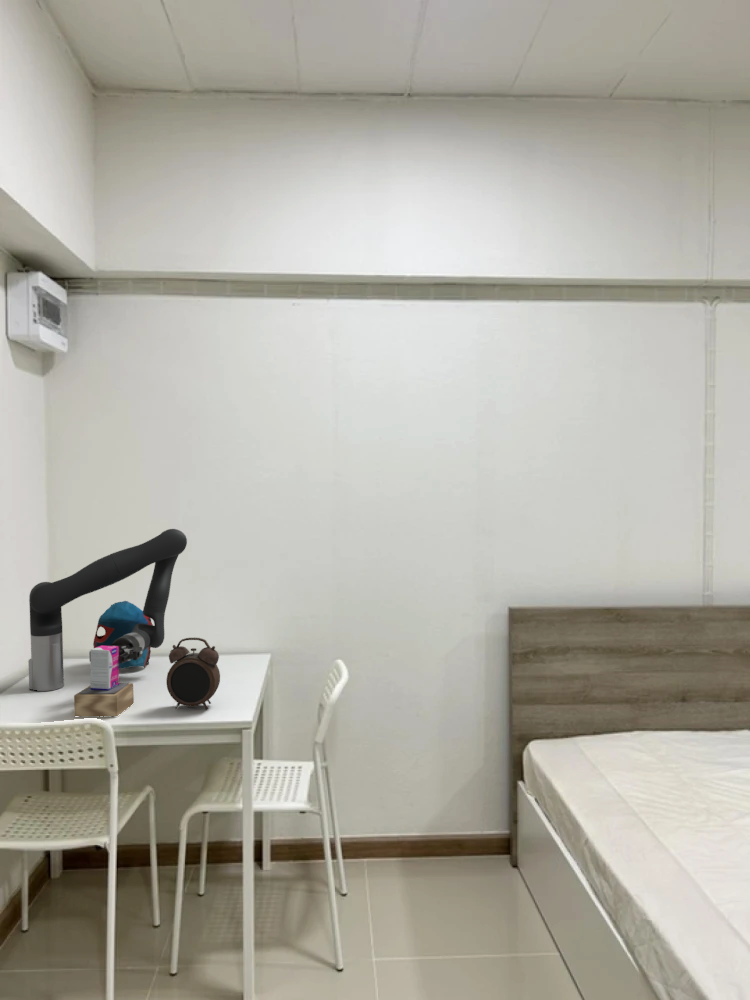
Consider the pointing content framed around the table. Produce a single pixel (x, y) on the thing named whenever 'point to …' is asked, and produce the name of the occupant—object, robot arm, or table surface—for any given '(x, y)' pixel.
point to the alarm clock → (193, 674)
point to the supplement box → (104, 667)
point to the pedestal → (104, 701)
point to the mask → (122, 628)
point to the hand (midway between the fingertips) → (106, 659)
